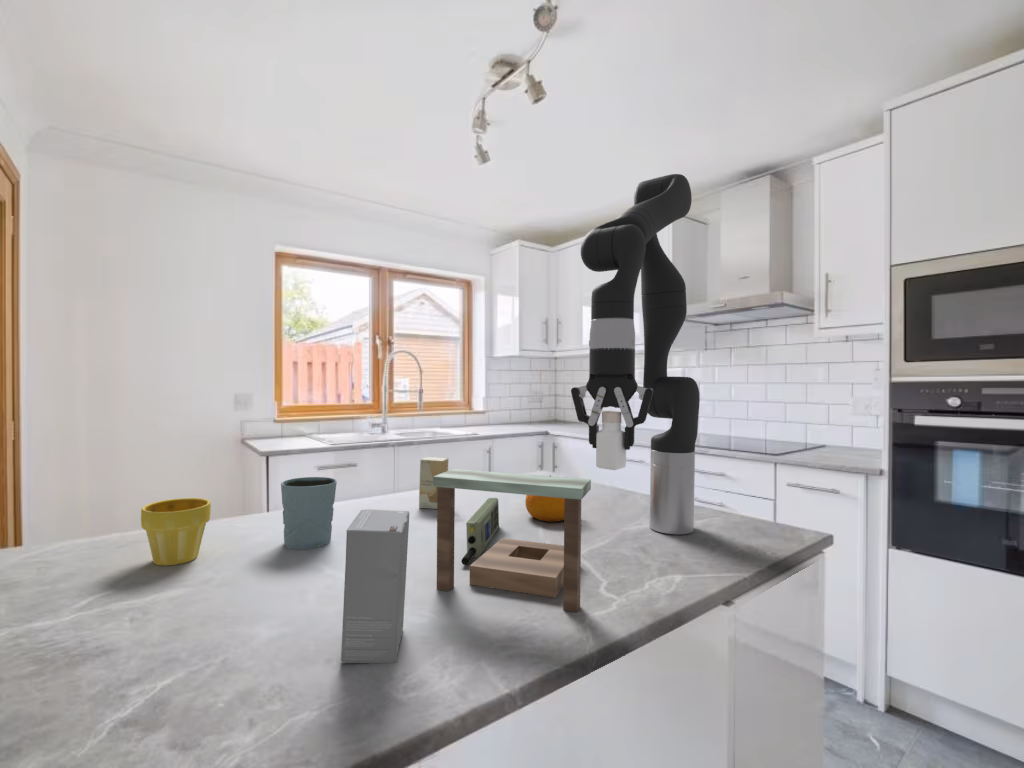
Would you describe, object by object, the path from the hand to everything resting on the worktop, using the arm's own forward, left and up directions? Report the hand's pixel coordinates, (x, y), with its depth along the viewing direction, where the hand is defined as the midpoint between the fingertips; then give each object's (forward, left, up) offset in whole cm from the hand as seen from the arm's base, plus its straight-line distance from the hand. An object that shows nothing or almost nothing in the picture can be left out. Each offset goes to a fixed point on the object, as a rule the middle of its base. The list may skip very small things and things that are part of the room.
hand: (611, 447), depth 87 cm
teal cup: (+5, -58, -21) cm, 62 cm away
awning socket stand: (+8, -13, -21) cm, 26 cm away
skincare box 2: (-28, -48, -21) cm, 60 cm away
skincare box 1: (+34, -23, -21) cm, 46 cm away
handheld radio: (-6, -26, -22) cm, 34 cm away
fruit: (-29, -18, -21) cm, 40 cm away
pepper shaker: (0, 0, -4) cm, 4 cm away
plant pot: (+21, -73, -21) cm, 79 cm away
